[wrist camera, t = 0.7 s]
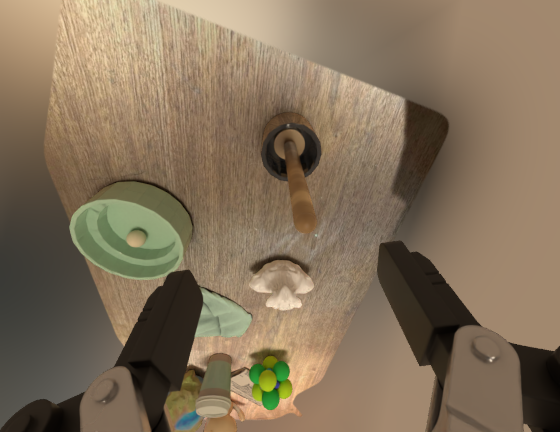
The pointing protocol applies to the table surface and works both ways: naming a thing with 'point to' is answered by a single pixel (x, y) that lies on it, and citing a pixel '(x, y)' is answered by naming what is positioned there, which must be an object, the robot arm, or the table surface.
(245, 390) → the newspaper
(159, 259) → the bowl
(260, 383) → the molecule model
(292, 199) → the wooden plunger
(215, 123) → the table surface
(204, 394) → the coffee cup
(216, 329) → the cloth
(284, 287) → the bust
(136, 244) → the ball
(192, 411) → the decorative rock
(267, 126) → the crock
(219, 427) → the kitten
